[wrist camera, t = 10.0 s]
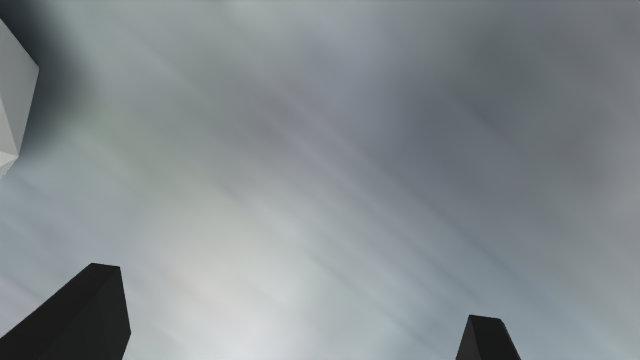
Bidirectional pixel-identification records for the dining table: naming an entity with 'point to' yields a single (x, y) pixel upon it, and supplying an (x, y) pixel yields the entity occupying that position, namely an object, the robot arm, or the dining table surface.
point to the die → (14, 95)
